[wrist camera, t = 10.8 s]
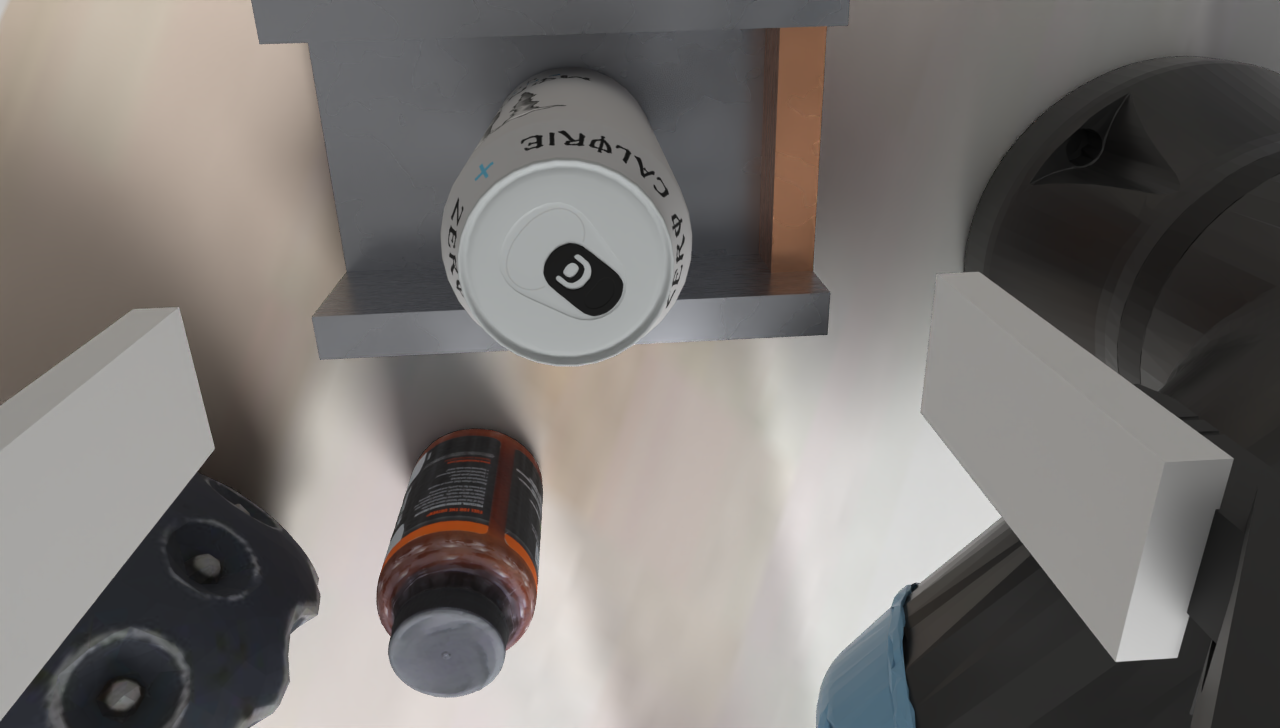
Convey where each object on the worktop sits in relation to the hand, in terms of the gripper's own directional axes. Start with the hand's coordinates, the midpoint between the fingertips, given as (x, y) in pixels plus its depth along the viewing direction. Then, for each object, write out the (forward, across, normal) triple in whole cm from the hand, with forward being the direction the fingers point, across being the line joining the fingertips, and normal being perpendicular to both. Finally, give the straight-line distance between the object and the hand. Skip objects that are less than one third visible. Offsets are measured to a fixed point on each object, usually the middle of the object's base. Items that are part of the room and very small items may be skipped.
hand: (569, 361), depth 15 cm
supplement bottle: (+21, +5, +15) cm, 26 cm away
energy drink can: (+20, 0, 0) cm, 20 cm away
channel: (+21, 0, 0) cm, 21 cm away
